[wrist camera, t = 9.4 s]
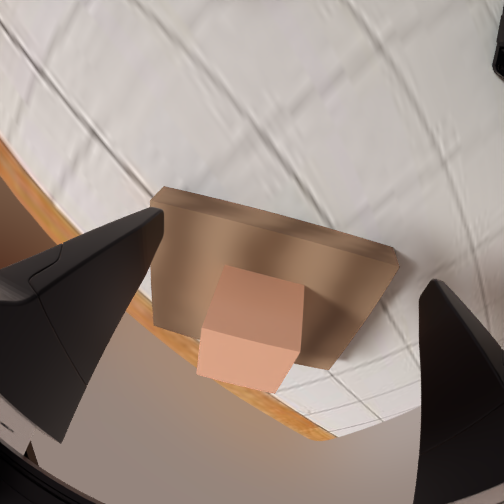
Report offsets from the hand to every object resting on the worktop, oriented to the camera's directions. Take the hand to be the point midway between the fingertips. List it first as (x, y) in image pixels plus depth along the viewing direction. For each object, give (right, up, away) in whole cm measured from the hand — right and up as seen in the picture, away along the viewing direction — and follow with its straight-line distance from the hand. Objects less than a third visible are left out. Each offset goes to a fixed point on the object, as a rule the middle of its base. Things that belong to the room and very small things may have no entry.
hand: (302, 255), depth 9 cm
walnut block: (-1, -2, +17) cm, 17 cm away
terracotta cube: (-1, -4, +15) cm, 15 cm away
